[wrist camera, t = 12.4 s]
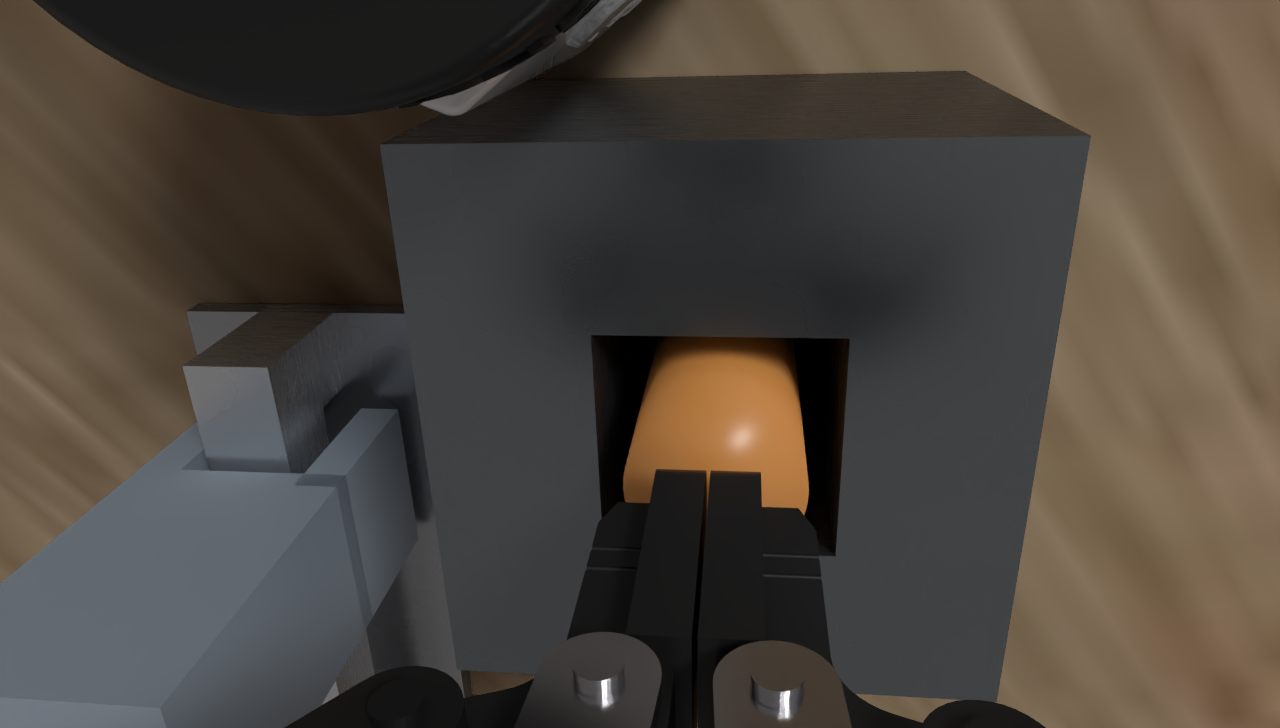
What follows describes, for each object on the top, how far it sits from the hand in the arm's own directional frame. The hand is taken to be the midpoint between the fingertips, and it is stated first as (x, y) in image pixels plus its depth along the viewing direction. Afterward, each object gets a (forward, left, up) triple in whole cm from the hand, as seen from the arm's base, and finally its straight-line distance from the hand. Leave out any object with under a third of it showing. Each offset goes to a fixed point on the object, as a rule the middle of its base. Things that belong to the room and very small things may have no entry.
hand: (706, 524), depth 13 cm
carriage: (-11, -5, -10) cm, 16 cm away
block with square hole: (0, 0, -10) cm, 10 cm away
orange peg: (0, 0, -9) cm, 9 cm away
